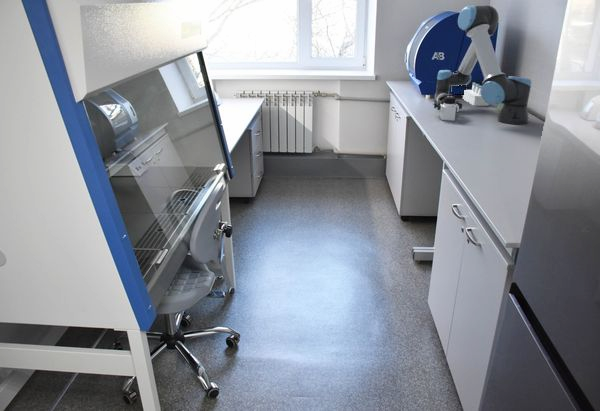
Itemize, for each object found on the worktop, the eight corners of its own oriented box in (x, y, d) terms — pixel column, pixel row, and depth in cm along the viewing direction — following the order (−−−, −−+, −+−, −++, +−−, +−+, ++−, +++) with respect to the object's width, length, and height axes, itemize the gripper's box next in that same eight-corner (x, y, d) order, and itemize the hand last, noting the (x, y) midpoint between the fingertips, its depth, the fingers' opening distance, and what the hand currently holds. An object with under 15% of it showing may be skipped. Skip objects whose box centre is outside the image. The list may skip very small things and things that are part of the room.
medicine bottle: (454, 120, 262) (457, 98, 257) (441, 120, 263) (443, 98, 259) (453, 117, 269) (456, 96, 264) (440, 117, 270) (442, 95, 265)
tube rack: (488, 105, 299) (491, 87, 295) (473, 105, 299) (476, 87, 295) (476, 98, 319) (478, 81, 315) (462, 99, 319) (464, 81, 315)
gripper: (461, 107, 280) (469, 116, 259) (425, 106, 283) (429, 115, 262) (463, 94, 277) (470, 102, 256) (426, 93, 280) (431, 101, 259)
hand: (450, 109), depth 259 cm, fingers closed on medicine bottle, 7 cm apart
